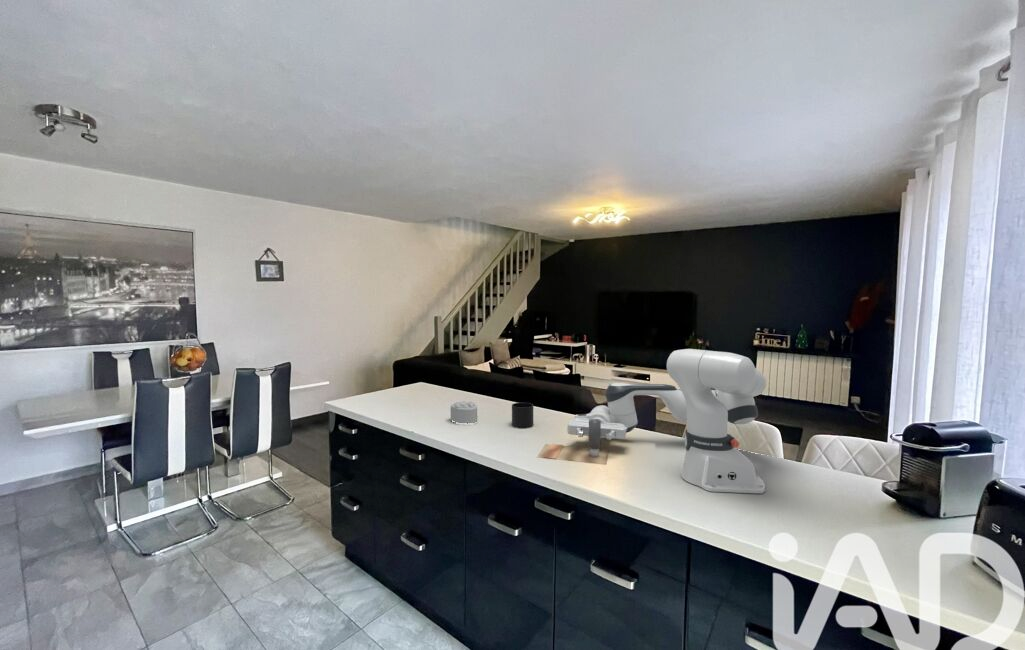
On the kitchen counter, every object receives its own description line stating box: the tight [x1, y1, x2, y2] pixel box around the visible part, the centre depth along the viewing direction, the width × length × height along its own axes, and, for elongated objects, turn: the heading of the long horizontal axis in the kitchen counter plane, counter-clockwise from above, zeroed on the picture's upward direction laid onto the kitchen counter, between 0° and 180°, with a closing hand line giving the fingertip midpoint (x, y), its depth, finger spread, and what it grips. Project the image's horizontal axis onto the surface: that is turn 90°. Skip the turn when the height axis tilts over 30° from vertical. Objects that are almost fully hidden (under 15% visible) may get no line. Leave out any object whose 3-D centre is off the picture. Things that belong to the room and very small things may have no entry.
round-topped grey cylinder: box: [588, 419, 602, 457], centre depth 144 cm, size 4×4×12 cm
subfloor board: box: [536, 443, 610, 466], centre depth 147 cm, size 23×14×2 cm, turn 73°
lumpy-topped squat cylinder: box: [450, 400, 478, 424], centre depth 192 cm, size 10×13×9 cm
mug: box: [511, 401, 534, 429], centre depth 187 cm, size 9×12×9 cm
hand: (594, 436), depth 144 cm, fingers open, 8 cm apart
